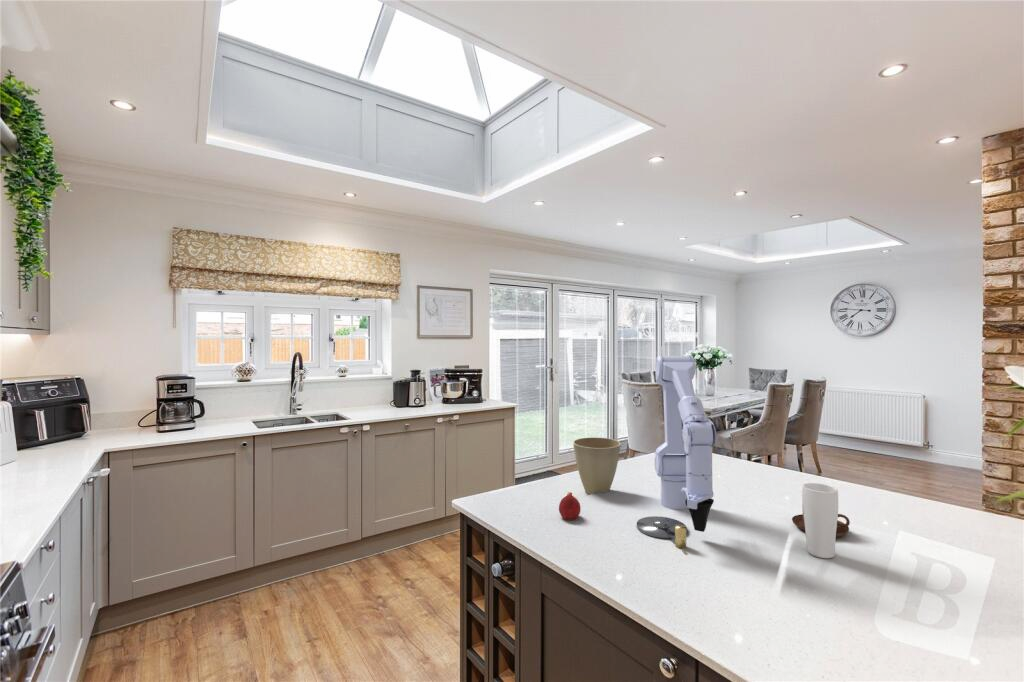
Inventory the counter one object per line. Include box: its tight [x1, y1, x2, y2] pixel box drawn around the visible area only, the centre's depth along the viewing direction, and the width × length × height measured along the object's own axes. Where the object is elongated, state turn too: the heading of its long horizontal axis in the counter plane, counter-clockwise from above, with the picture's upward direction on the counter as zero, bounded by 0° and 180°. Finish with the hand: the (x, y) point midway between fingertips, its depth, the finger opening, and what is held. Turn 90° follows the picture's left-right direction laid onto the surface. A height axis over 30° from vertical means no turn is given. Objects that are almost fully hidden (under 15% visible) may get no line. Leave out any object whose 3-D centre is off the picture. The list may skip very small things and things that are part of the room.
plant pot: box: [572, 436, 621, 495], centre depth 149 cm, size 15×15×16 cm
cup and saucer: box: [791, 503, 851, 537], centre depth 118 cm, size 12×12×6 cm
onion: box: [558, 491, 582, 521], centre depth 125 cm, size 6×6×8 cm
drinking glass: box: [801, 482, 839, 559], centre depth 105 cm, size 7×7×15 cm
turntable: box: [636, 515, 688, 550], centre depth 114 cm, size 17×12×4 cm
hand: (699, 530), depth 110 cm, fingers closed
